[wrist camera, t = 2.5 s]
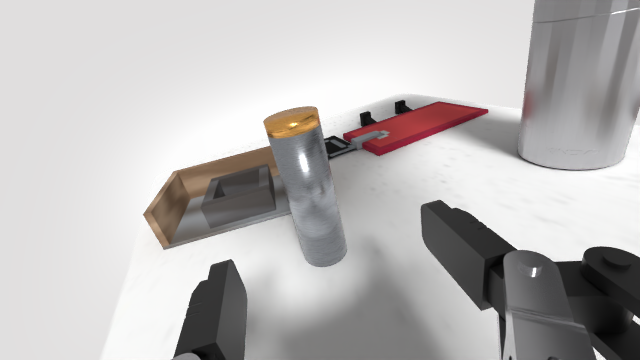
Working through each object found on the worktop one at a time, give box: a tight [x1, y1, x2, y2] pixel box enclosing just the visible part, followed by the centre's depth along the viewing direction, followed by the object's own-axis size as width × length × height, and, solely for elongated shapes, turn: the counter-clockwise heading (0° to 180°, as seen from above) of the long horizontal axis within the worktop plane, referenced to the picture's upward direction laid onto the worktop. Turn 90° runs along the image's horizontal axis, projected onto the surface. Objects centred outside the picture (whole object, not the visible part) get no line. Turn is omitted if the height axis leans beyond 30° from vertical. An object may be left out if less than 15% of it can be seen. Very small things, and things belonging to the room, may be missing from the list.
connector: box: [264, 107, 347, 267], centre depth 23 cm, size 4×4×13 cm
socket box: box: [143, 146, 291, 250], centre depth 37 cm, size 12×19×5 cm, turn 101°
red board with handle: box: [324, 100, 488, 158], centre depth 50 cm, size 30×3×15 cm
